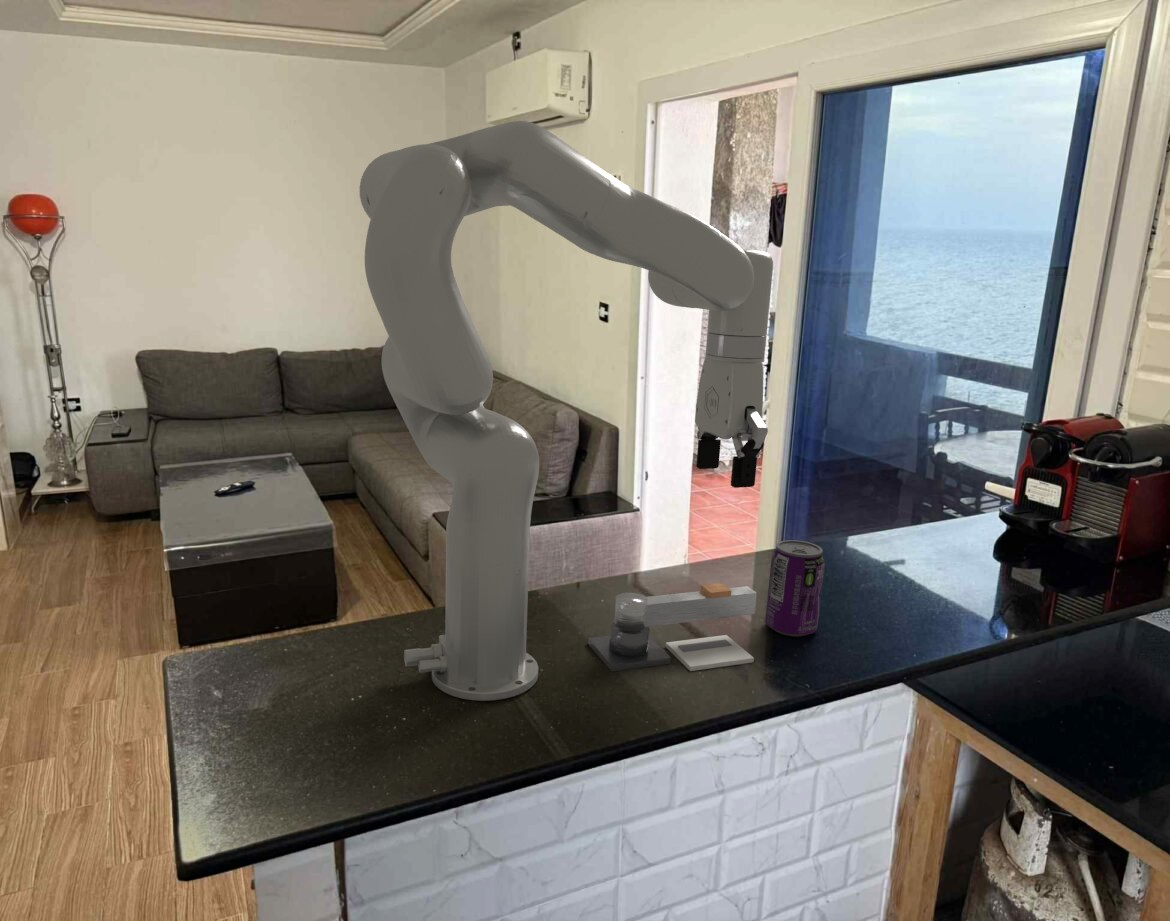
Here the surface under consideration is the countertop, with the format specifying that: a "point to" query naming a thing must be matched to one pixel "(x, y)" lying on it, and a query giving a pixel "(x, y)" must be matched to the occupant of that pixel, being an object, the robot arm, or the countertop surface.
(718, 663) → the label plate
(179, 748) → the countertop surface
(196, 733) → the countertop surface
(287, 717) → the countertop surface
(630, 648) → the pivot pedestal
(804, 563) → the beverage can
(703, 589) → the grey long bar
